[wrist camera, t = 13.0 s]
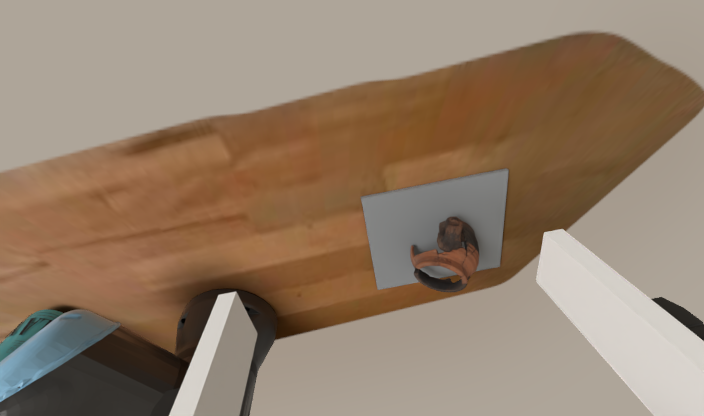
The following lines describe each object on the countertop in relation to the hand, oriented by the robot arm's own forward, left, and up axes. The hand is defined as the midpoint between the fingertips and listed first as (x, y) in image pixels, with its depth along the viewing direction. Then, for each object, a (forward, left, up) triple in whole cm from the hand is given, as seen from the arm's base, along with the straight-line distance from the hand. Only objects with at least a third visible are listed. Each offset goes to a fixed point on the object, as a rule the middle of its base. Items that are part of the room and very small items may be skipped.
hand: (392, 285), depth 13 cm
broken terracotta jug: (+11, -19, -26) cm, 34 cm away
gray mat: (+10, -18, -27) cm, 34 cm away
